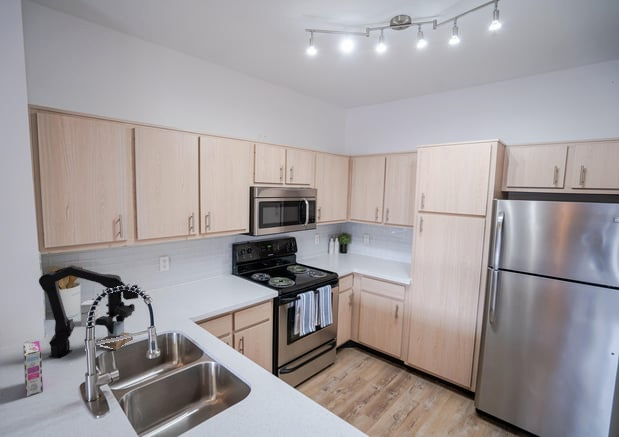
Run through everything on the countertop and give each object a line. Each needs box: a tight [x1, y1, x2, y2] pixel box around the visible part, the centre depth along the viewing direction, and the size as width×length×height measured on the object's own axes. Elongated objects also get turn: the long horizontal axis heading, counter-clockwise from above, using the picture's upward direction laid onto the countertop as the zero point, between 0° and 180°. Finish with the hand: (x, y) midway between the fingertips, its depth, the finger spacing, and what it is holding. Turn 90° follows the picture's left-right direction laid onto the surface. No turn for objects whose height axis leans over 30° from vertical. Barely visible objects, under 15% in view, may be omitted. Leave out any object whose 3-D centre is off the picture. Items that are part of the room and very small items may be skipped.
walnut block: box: [98, 331, 134, 351], centre depth 152 cm, size 10×10×4 cm
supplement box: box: [80, 299, 101, 327], centre depth 175 cm, size 7×7×13 cm
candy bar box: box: [23, 340, 44, 398], centre depth 117 cm, size 11×5×16 cm, turn 44°
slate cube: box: [106, 320, 125, 336], centre depth 152 cm, size 5×5×5 cm
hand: (115, 331), depth 152 cm, fingers closed on slate cube, 5 cm apart
